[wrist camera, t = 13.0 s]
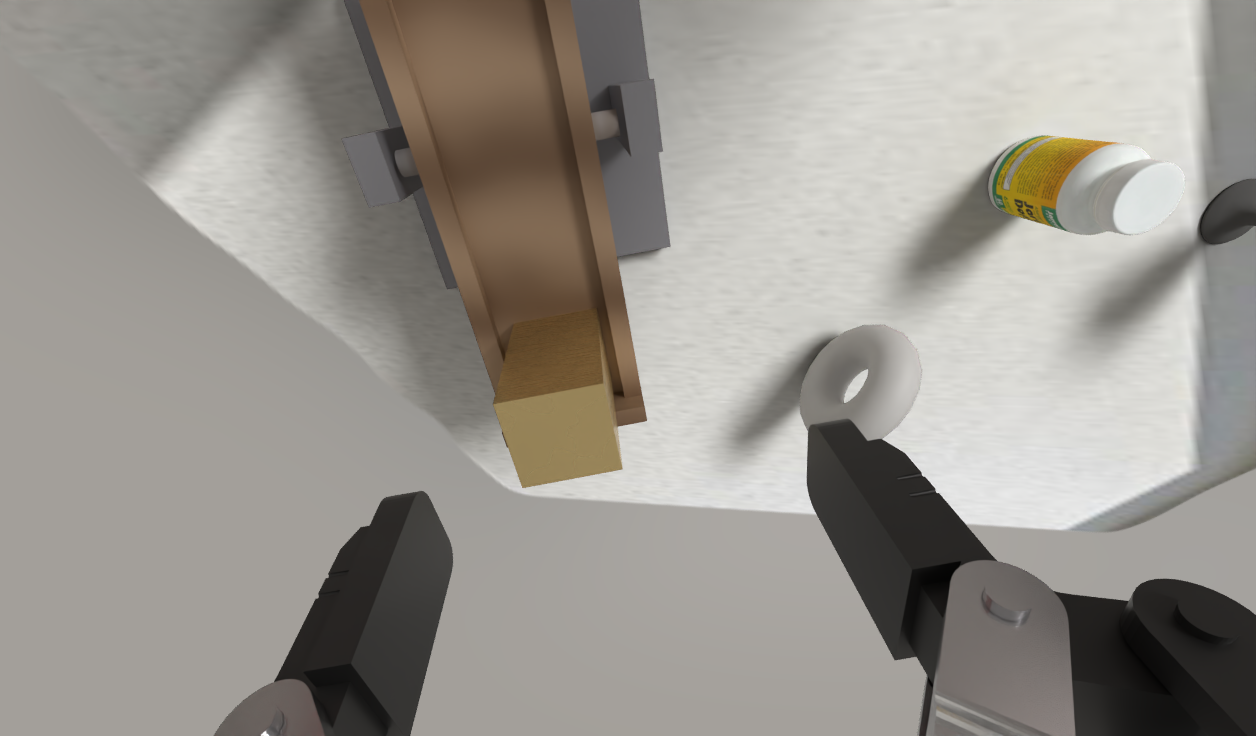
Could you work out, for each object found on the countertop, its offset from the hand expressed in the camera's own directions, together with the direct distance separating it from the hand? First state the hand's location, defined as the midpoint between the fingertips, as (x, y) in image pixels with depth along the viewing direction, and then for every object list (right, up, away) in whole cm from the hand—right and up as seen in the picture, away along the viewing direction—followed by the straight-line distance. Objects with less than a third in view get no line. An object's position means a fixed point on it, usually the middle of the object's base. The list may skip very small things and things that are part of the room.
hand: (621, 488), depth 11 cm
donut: (+17, +4, +33) cm, 37 cm away
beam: (-5, +13, +13) cm, 20 cm away
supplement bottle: (+29, +17, +27) cm, 42 cm away
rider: (-3, +3, +18) cm, 19 cm away
